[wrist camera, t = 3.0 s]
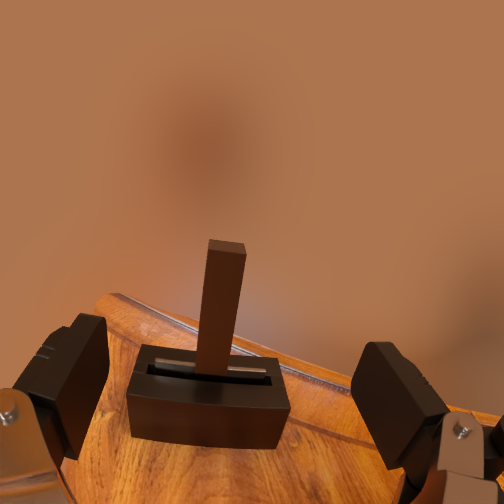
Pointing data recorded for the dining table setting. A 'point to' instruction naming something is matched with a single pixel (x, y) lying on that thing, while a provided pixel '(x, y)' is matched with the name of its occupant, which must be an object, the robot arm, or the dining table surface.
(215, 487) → the dining table surface
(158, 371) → the knife
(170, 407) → the knife stand
